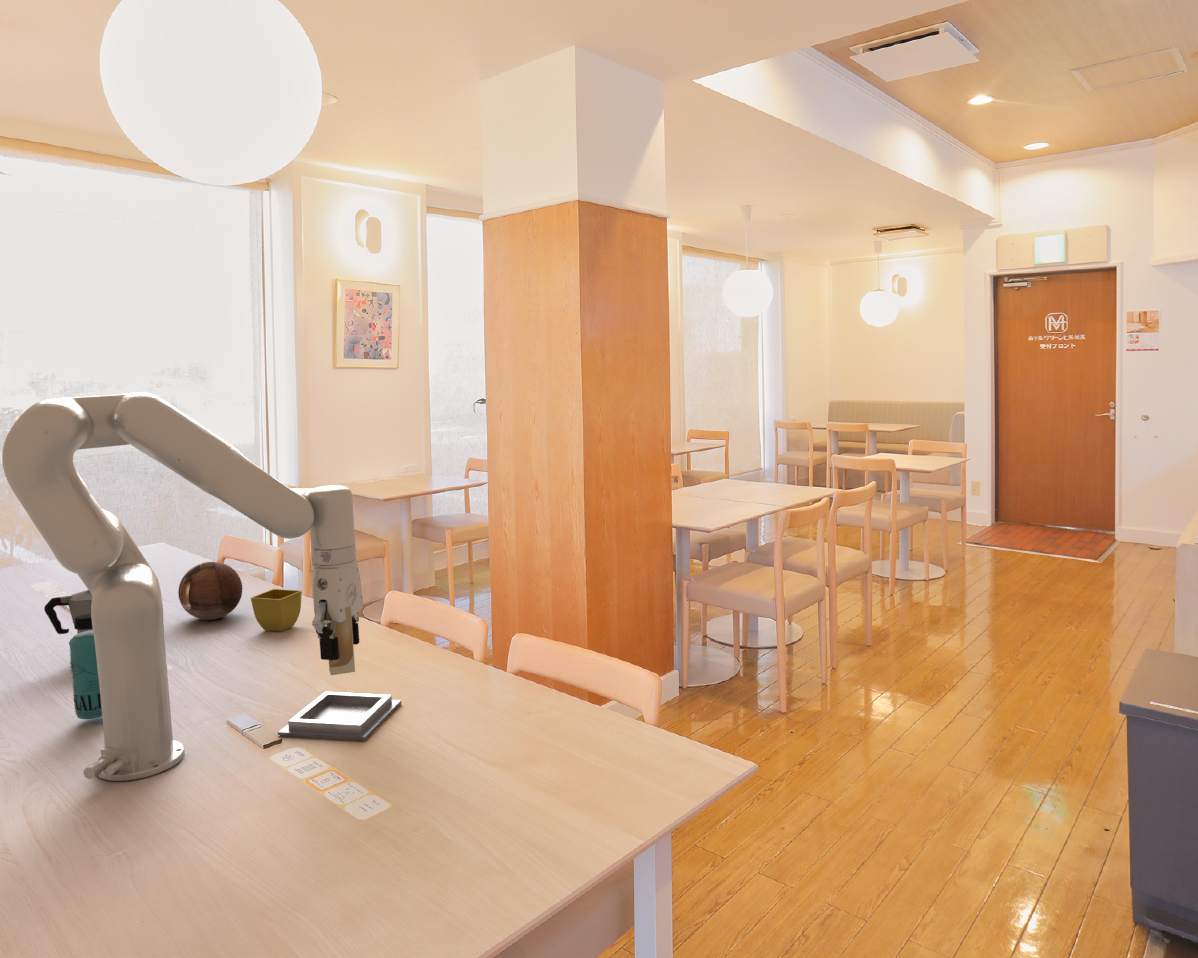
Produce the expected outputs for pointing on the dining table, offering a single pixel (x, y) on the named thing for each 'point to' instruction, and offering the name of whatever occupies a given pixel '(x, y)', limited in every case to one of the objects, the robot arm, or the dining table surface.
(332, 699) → the square metal tray
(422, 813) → the dining table surface
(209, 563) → the wooden sphere
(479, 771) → the dining table surface
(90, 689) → the beverage bottle
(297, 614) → the flower pot
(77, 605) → the coffeepot
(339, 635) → the skincare box
